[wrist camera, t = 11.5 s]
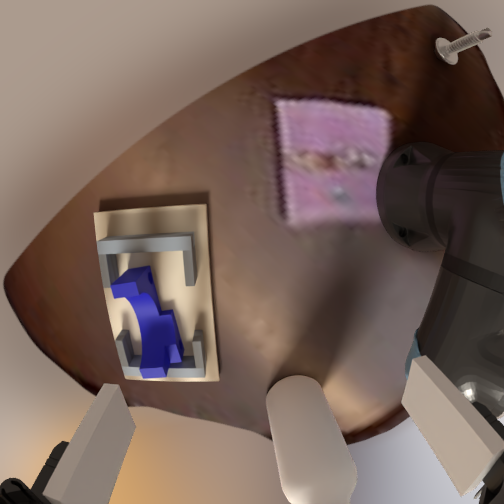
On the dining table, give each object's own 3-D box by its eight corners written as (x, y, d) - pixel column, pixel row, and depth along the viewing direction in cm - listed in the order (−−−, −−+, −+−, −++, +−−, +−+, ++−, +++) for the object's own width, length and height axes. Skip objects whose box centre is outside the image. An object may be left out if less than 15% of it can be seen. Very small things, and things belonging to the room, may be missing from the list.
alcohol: (303, 417, 43) (352, 571, 14) (255, 406, 42) (282, 582, 13) (330, 379, 42) (409, 542, 12) (281, 366, 40) (338, 561, 11)
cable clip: (184, 349, 37) (178, 376, 31) (153, 352, 36) (143, 378, 31) (161, 263, 34) (148, 279, 28) (127, 269, 34) (110, 285, 28)
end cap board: (206, 203, 34) (203, 206, 30) (219, 374, 40) (219, 394, 35) (98, 211, 33) (82, 215, 29) (128, 373, 39) (120, 391, 34)
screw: (442, 41, 30) (454, 67, 31) (424, 41, 30) (436, 68, 31) (491, 17, 18) (507, 48, 19) (474, 13, 18) (491, 46, 19)
